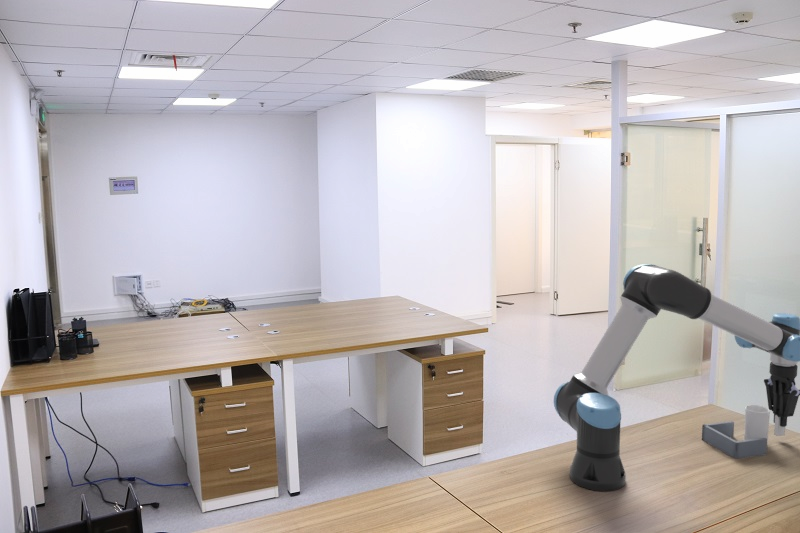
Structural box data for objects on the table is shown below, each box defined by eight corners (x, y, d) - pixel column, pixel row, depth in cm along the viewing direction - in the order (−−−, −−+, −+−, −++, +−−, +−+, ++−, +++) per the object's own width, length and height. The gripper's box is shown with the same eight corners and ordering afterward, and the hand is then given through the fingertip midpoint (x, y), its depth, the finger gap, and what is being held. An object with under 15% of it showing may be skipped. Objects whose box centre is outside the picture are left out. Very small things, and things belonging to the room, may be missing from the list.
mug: (766, 451, 203) (768, 414, 201) (741, 446, 207) (743, 410, 205) (770, 440, 211) (772, 404, 209) (747, 436, 215) (749, 400, 213)
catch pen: (735, 458, 198) (736, 442, 198) (701, 439, 213) (702, 424, 212) (766, 454, 201) (767, 438, 200) (731, 435, 215) (731, 420, 215)
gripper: (810, 367, 202) (806, 441, 205) (777, 356, 214) (773, 426, 218) (790, 370, 200) (785, 444, 203) (757, 358, 213) (754, 428, 216)
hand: (779, 434), depth 210 cm, fingers closed
